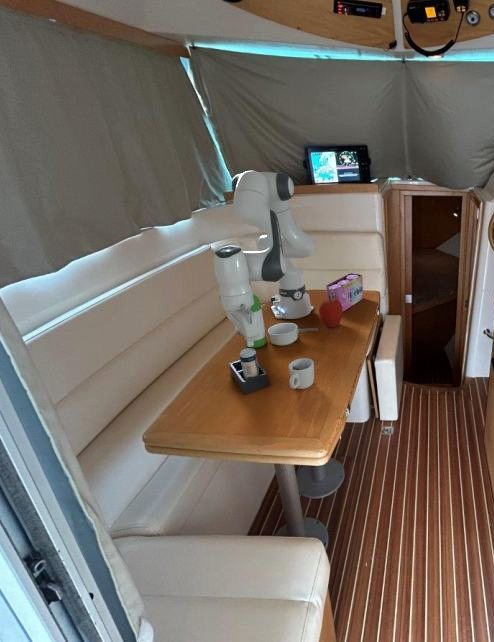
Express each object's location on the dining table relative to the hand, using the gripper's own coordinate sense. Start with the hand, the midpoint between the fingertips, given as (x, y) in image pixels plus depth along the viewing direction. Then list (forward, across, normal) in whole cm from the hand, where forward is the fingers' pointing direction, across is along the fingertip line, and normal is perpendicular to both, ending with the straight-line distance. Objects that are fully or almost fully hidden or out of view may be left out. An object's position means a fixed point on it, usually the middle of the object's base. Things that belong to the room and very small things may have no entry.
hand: (245, 340), depth 115 cm
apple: (+18, +24, -42) cm, 51 cm away
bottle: (+17, +28, -10) cm, 34 cm away
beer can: (+16, 0, 0) cm, 16 cm away
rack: (+17, +3, 0) cm, 17 cm away
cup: (+17, -12, -11) cm, 24 cm away
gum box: (+18, +42, -60) cm, 75 cm away
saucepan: (+17, +21, -23) cm, 36 cm away
